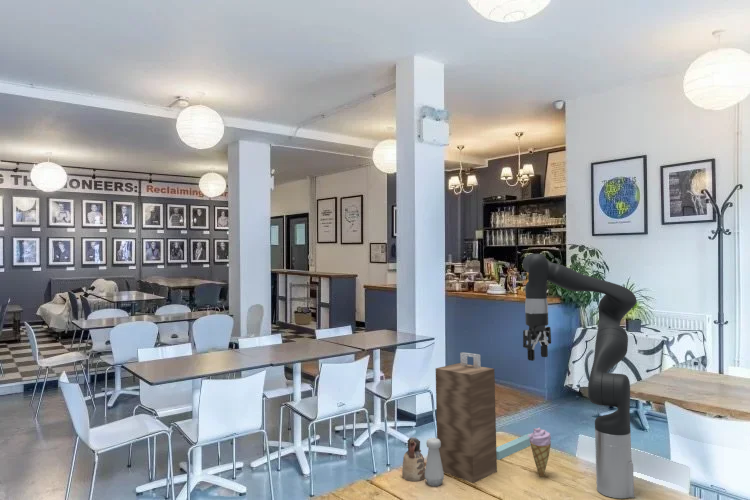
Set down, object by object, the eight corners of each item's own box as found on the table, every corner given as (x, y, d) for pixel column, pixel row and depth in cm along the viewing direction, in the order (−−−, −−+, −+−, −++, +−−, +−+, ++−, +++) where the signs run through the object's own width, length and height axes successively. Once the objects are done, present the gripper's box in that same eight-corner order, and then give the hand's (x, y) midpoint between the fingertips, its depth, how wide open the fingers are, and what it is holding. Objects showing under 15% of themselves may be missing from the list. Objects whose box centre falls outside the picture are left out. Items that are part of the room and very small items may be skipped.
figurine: (428, 474, 160) (427, 435, 160) (421, 483, 153) (420, 442, 154) (406, 470, 163) (406, 432, 163) (399, 479, 156) (398, 439, 156)
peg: (529, 441, 188) (529, 433, 189) (537, 443, 186) (537, 434, 186) (491, 458, 172) (491, 449, 173) (498, 461, 170) (498, 451, 170)
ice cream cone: (527, 477, 156) (525, 427, 156) (531, 470, 161) (529, 422, 162) (550, 481, 153) (548, 430, 153) (553, 473, 158) (551, 424, 159)
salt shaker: (443, 488, 149) (442, 443, 150) (423, 486, 151) (422, 442, 151) (444, 479, 155) (443, 436, 156) (425, 478, 156) (425, 435, 157)
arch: (480, 368, 163) (480, 354, 163) (477, 368, 162) (477, 355, 162) (463, 365, 168) (463, 352, 168) (460, 366, 167) (460, 352, 167)
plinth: (496, 471, 161) (494, 368, 162) (473, 482, 153) (470, 374, 154) (461, 459, 171) (459, 363, 172) (437, 469, 163) (435, 368, 164)
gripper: (537, 309, 185) (538, 354, 184) (515, 312, 175) (516, 360, 175) (557, 310, 179) (558, 357, 179) (535, 313, 170) (536, 362, 169)
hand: (537, 358), depth 177 cm, fingers open, 8 cm apart
